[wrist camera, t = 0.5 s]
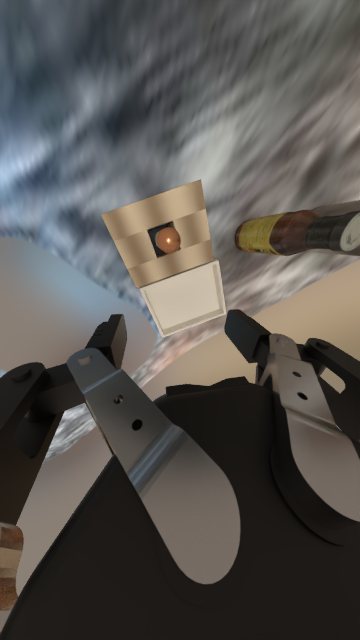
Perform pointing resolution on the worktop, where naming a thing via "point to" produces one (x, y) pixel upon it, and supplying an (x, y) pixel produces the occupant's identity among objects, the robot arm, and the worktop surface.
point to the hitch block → (169, 207)
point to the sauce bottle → (299, 233)
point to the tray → (186, 298)
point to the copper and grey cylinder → (167, 240)
